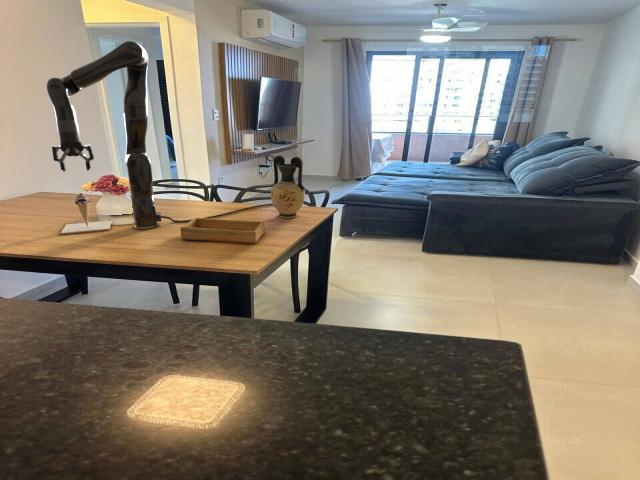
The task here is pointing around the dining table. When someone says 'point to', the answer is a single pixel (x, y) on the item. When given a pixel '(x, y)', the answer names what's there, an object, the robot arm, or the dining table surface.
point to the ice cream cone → (83, 206)
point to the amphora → (287, 187)
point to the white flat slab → (86, 227)
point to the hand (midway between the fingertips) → (76, 170)
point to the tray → (223, 230)
